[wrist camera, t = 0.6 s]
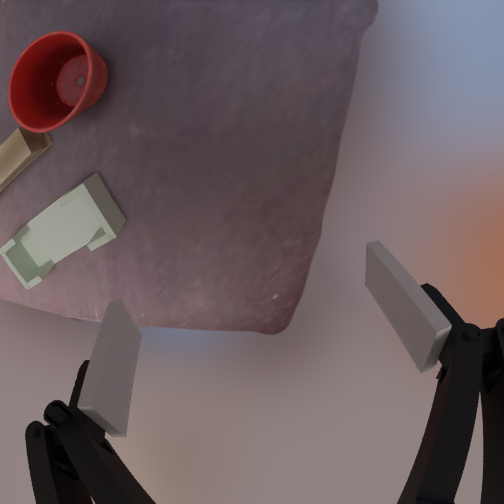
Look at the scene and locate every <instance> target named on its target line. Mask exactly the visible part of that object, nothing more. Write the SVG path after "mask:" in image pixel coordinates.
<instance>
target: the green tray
mask: <svg viewBox="0 0 504 504" xmlns="http://www.w3.org/2000/svg"><path fill="white" fill-rule="evenodd" d="M125 222H126V219H125V217H124V216H123V214H122V212H121V211H120V209H119V208H118V206H117V204H116V203H115V201H114V199H113V198H112V196H111V194H110V193H109V191H108V189H107V188H106V186H105V184H104V182H103V181H102V179H101V177H100V176H99V174H98V172H96V173H95V174H93V175H92V176H90V177H89V178H87V179H86V180H84V181H83V182H81V183H80V184H79V185H77V186H76V187H74V188H73V189H71V190H70V191H69V192H67V193H66V194H64V195H63V196H62V197H60V198H59V199H58V200H56V201H55V202H54V203H52V204H51V205H50V206H48V207H47V208H46V209H45V210H43V211H42V212H41V213H40V214H38V215H37V216H36V217H35V218H33V219H32V220H31V221H30V222H28V223H27V224H26V225H25V226H24V227H22V228H21V229H20V230H19V231H18V232H17V233H15V234H14V235H13V236H12V237H11V238H10V239H9V240H8V241H7V242H6V243H5V244H4V245H3V246H2V247H1V248H0V254H1V255H2V257H3V258H4V260H5V261H6V262H7V264H8V265H9V267H10V268H11V269H12V271H13V272H14V273H15V275H16V276H17V278H18V279H19V280H20V281H21V283H22V284H23V285H24V287H25V288H26V289H27V290H29V289H30V288H32V287H33V286H35V285H36V284H38V283H40V282H41V281H43V279H44V278H45V276H46V275H47V273H48V272H49V271H50V269H51V268H52V266H53V265H54V264H55V263H57V262H58V261H60V260H61V259H63V258H65V257H66V256H68V255H69V254H71V253H73V252H74V251H76V250H78V249H79V248H81V247H82V246H84V245H86V244H88V245H87V246H88V248H89V249H90V250H91V251H93V250H94V249H96V248H98V247H100V246H101V245H103V244H105V243H107V242H109V241H110V240H112V239H114V238H116V237H117V236H118V234H119V232H120V231H121V229H122V227H123V225H124V224H125Z"/></svg>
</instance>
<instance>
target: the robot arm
mask: <svg viewBox="0 0 504 504" xmlns="http://www.w3.org/2000/svg"><path fill="white" fill-rule="evenodd" d="M365 285H366V287H367V288H368V290H369V291H370V293H371V294H372V296H373V297H374V299H375V300H376V302H377V303H378V305H379V306H380V308H381V309H382V311H383V313H384V314H385V315H386V317H387V319H388V320H389V322H390V323H391V325H392V326H393V328H394V330H395V331H396V333H397V335H398V336H399V338H400V339H401V341H402V343H403V344H404V346H405V348H406V349H407V351H408V352H409V354H410V356H411V357H412V359H413V361H414V362H415V364H416V366H417V368H418V369H419V371H420V373H424V372H426V371H428V370H430V369H432V368H434V367H435V366H436V364H437V361H438V359H439V361H440V362H441V364H442V367H441V369H440V371H439V373H438V375H437V377H436V379H438V378H439V379H438V384H437V388H436V392H435V396H434V401H433V405H432V408H431V412H430V416H429V419H428V423H427V426H426V429H425V433H424V436H423V439H422V442H421V445H420V448H419V451H418V454H417V456H416V459H415V462H414V465H413V467H412V470H411V472H410V475H409V477H408V480H407V482H406V485H405V487H404V489H403V491H402V494H401V496H400V498H399V500H398V502H397V504H455V503H454V498H455V495H456V492H457V489H458V486H459V483H460V480H461V477H462V473H463V470H464V467H465V463H466V459H467V455H468V451H469V447H470V443H471V438H472V434H473V429H474V424H475V419H476V413H477V406H478V399H479V392H480V394H481V404H482V418H483V444H484V445H483V481H482V493H481V503H480V504H504V318H502V319H500V320H498V322H497V323H496V326H495V327H493V328H487V329H480V328H479V327H477V326H476V325H474V324H471V323H465V322H464V321H463V320H462V318H461V317H460V316H459V315H458V313H457V312H456V311H455V310H454V309H453V307H452V306H451V305H450V304H449V303H448V302H447V300H446V299H445V298H444V297H442V295H441V293H440V292H439V291H438V290H437V289H436V288H435V287H433V286H431V285H429V284H428V283H426V284H423V285H421V286H420V285H419V284H418V283H417V282H416V281H415V280H414V279H413V277H412V276H411V275H410V274H409V273H408V272H407V270H406V269H405V268H404V267H403V266H402V265H401V264H400V263H399V262H398V260H397V259H396V258H395V257H394V256H393V255H392V254H391V253H390V252H389V251H388V249H387V248H386V247H385V246H384V245H383V244H382V243H381V242H380V241H379V240H378V241H374V242H370V243H367V244H366V272H365ZM141 337H142V334H141V333H140V331H139V329H138V328H137V326H136V324H135V323H134V321H133V319H132V317H131V316H130V314H129V312H128V310H127V309H126V307H125V305H124V303H123V301H122V300H117V301H112V302H109V305H108V308H107V310H106V313H105V316H104V319H103V322H102V324H101V327H100V330H99V333H98V336H97V339H96V343H95V346H94V349H93V352H92V355H91V358H90V360H85V361H84V362H83V364H82V365H81V367H80V368H79V371H78V374H77V379H76V381H75V386H74V388H73V392H72V395H71V399H70V403H69V406H67V405H66V404H65V403H64V402H63V401H60V400H54V401H52V402H51V403H49V404H48V405H47V407H46V409H45V411H44V420H45V421H46V422H47V423H49V425H46V426H44V425H43V424H42V423H41V422H39V421H33V422H32V423H30V424H29V425H28V427H27V429H26V432H25V440H26V449H27V457H28V463H29V469H30V476H31V481H32V487H33V491H34V496H35V500H36V504H93V502H92V499H93V500H94V502H95V504H156V503H155V502H154V501H153V500H152V498H151V497H150V496H149V495H148V494H147V493H146V491H145V490H144V489H143V488H142V486H141V485H140V484H139V483H138V482H137V480H136V479H135V478H134V476H133V475H132V474H131V472H130V471H129V470H128V469H127V467H126V466H125V464H124V463H123V462H122V461H121V459H120V458H119V456H118V455H117V453H116V452H115V450H114V449H113V447H112V446H111V445H110V443H109V441H108V440H107V439H106V438H105V431H106V432H107V433H108V434H109V435H111V436H112V437H126V433H127V425H128V417H129V409H130V401H131V395H132V388H133V382H134V376H135V370H136V364H137V358H138V353H139V347H140V342H141ZM91 497H92V499H91Z"/></svg>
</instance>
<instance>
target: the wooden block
mask: <svg viewBox="0 0 504 504" xmlns="http://www.w3.org/2000/svg"><path fill="white" fill-rule="evenodd" d="M52 144H53V143H52V141H51V139H50V137H49V135H48V133H47V132H42V133H37V132H32V131H29V130H27V129H25V128H23V127H22V126H21V127H18V128H17V129H16V130H15V131H14V132H13V133H12V134H11V136H10V137H9V138H8V139H7V140H6V141H5V142H4V143H3V144H2V145H1V146H0V194H1V192H2V191H3V190H4V189H5V188H6V187H7V186H8V185H9V184H10V183H11V182H12V181H13V180H14V179H15V178H16V177H17V176H18V175H19V174H20V173H21V172H22V171H23V170H24V169H25V168H26V167H27V166H29V165H30V164H31V163H32V162H33V161H34V160H35V159H36V158H37V157H38V156H40V155H41V154H42V153H43V152H44V151H45V150H46V149H48V148H49V147H50V146H51V145H52Z"/></svg>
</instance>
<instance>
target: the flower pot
mask: <svg viewBox="0 0 504 504" xmlns="http://www.w3.org/2000/svg"><path fill="white" fill-rule="evenodd" d="M107 82H108V69H107V66H106V63H105V62H104V60H103V59H102V58H101V57H100V55H99V54H98V53H97V52H96V51H95V50H94V49H93V48H92V47H91V46H90V45H89V44H88V43H87V42H86V41H85V40H84V39H83V38H82V37H80V36H79V35H77V34H75V33H72V32H68V31H56V32H51V33H48V34H46V35H44V36H42V37H40V38H38V39H37V40H35V41H34V42H32V43H31V44H30V45H29V46H28V47H27V48H26V49H25V50H24V51H23V53H22V54H21V55H20V57H19V58H18V60H17V62H16V64H15V66H14V68H13V70H12V73H11V76H10V80H9V85H8V102H9V107H10V110H11V113H12V115H13V117H14V118H15V120H16V121H17V123H18V124H19V125H21V126H22V127H23V128H25V129H27V130H29V131H32V132H37V133H42V132H48V131H51V130H54V129H56V128H58V127H60V126H62V125H63V124H65V123H66V122H68V121H70V120H71V119H72V118H74V117H75V116H77V115H78V114H80V113H81V112H83V111H84V110H86V109H87V108H88V107H90V106H91V105H93V104H94V103H95V102H96V101H97V100H98V99H99V98H100V97H101V96H102V94H103V92H104V90H105V88H106V85H107Z"/></svg>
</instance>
